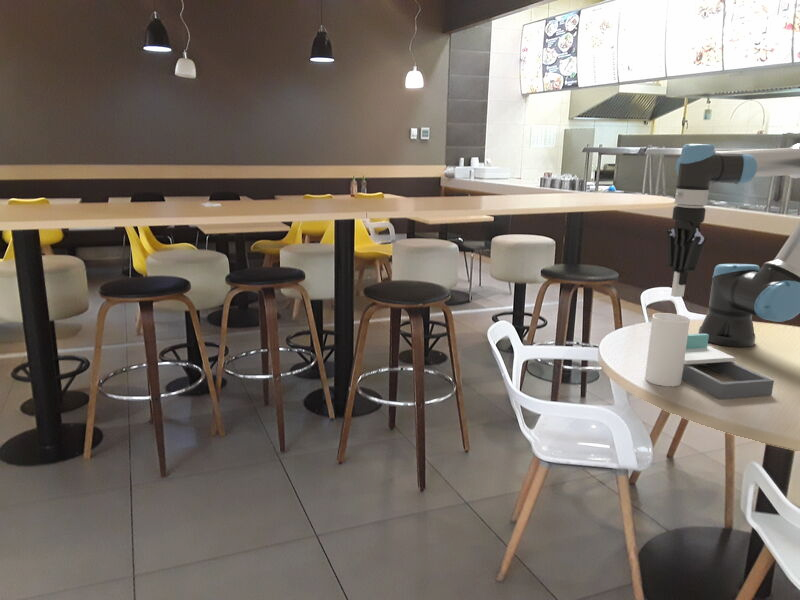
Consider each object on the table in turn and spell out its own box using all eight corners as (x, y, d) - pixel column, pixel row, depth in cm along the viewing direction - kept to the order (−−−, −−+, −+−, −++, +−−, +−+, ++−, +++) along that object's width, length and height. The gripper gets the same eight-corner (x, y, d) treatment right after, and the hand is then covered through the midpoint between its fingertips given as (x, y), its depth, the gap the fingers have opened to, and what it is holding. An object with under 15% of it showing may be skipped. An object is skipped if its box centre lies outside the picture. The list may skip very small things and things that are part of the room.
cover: (708, 349, 164) (710, 333, 163) (734, 361, 156) (737, 344, 154) (661, 352, 161) (663, 335, 160) (685, 364, 152) (687, 346, 151)
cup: (678, 389, 147) (687, 323, 143) (641, 381, 151) (649, 318, 147) (683, 378, 154) (692, 316, 150) (648, 372, 158) (656, 311, 154)
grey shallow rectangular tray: (706, 363, 165) (708, 350, 165) (771, 395, 145) (774, 380, 144) (659, 366, 162) (661, 353, 161) (719, 399, 142) (721, 384, 141)
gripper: (661, 203, 165) (649, 290, 170) (694, 208, 152) (680, 302, 158) (685, 204, 166) (674, 290, 172) (720, 208, 154) (706, 301, 160)
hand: (677, 295), depth 165 cm, fingers closed
